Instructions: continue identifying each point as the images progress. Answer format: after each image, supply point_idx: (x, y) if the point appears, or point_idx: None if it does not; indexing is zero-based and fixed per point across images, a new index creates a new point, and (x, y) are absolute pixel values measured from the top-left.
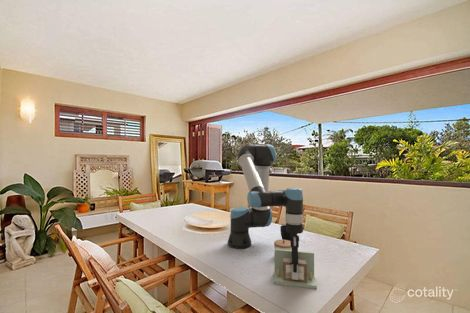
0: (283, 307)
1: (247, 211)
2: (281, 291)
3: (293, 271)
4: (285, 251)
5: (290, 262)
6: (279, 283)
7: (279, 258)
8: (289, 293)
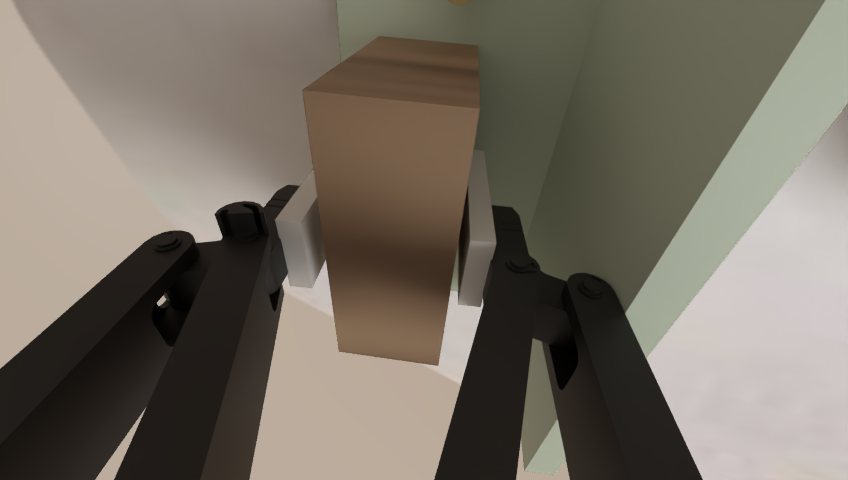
0: (22, 8)
1: None
2: (229, 3)
3: (279, 190)
4: (683, 204)
5: (248, 216)
6: None
7: (672, 17)
8: (233, 80)
